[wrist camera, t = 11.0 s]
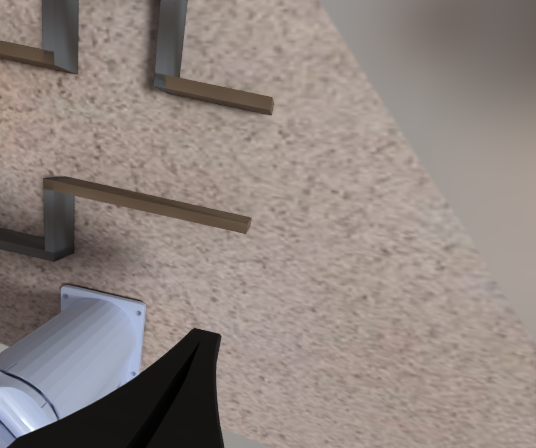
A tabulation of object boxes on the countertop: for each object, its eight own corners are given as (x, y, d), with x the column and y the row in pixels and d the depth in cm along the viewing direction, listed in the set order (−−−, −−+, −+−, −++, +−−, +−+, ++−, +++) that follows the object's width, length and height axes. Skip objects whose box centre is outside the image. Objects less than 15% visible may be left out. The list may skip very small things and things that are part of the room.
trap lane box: (237, 290, 23) (232, 302, 21) (-78, 218, 24) (-111, 223, 22) (292, 8, 17) (292, -11, 15) (-123, -75, 18) (-173, -103, 16)
